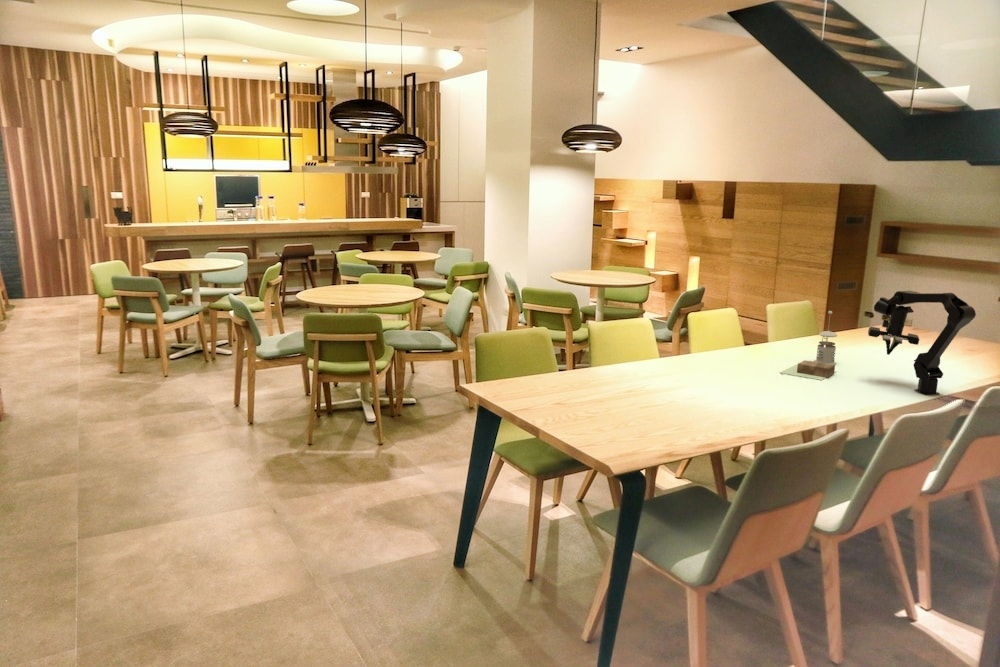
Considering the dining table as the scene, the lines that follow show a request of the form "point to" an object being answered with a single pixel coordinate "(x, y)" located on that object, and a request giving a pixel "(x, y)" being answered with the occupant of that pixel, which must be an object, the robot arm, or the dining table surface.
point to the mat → (793, 372)
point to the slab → (815, 368)
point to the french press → (826, 348)
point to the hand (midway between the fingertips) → (887, 354)
